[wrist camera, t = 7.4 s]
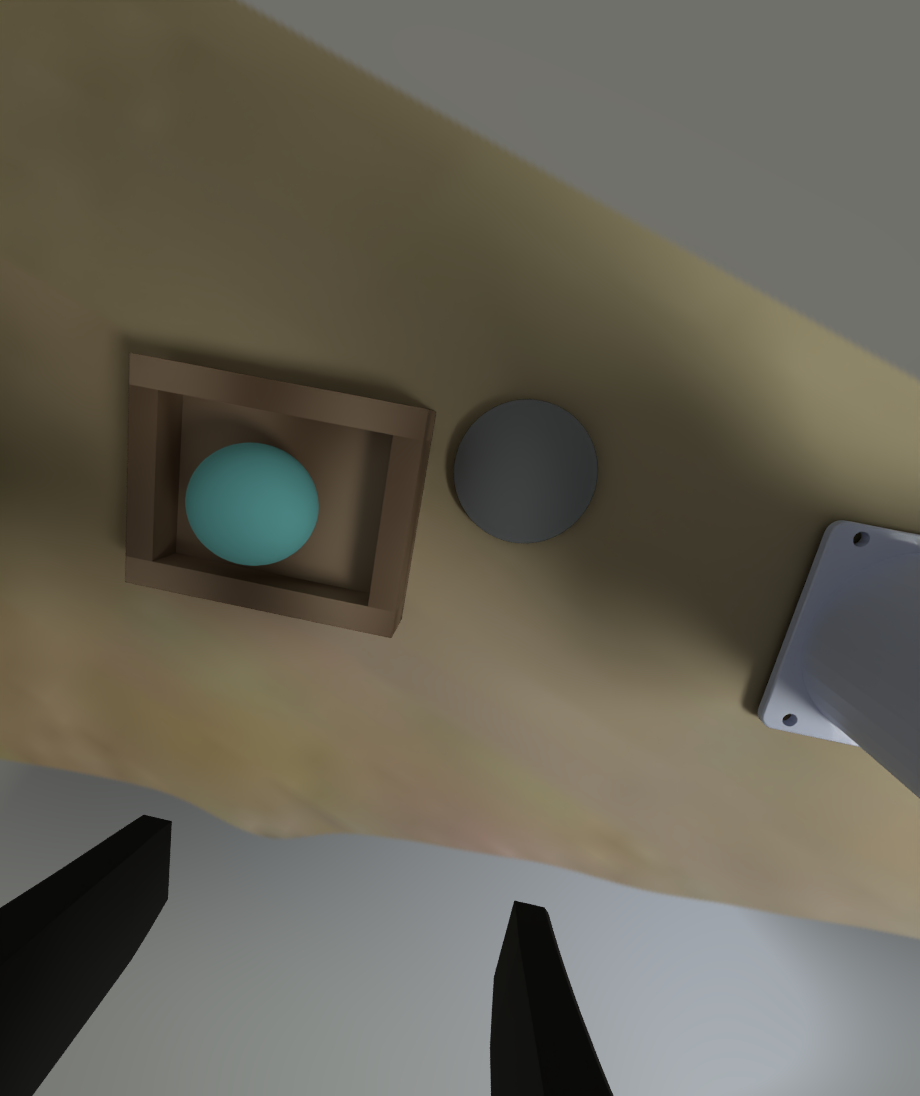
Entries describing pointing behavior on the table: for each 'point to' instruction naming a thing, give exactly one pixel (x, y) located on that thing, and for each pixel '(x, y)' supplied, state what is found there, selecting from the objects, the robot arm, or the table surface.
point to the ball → (252, 504)
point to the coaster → (525, 471)
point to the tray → (328, 456)
